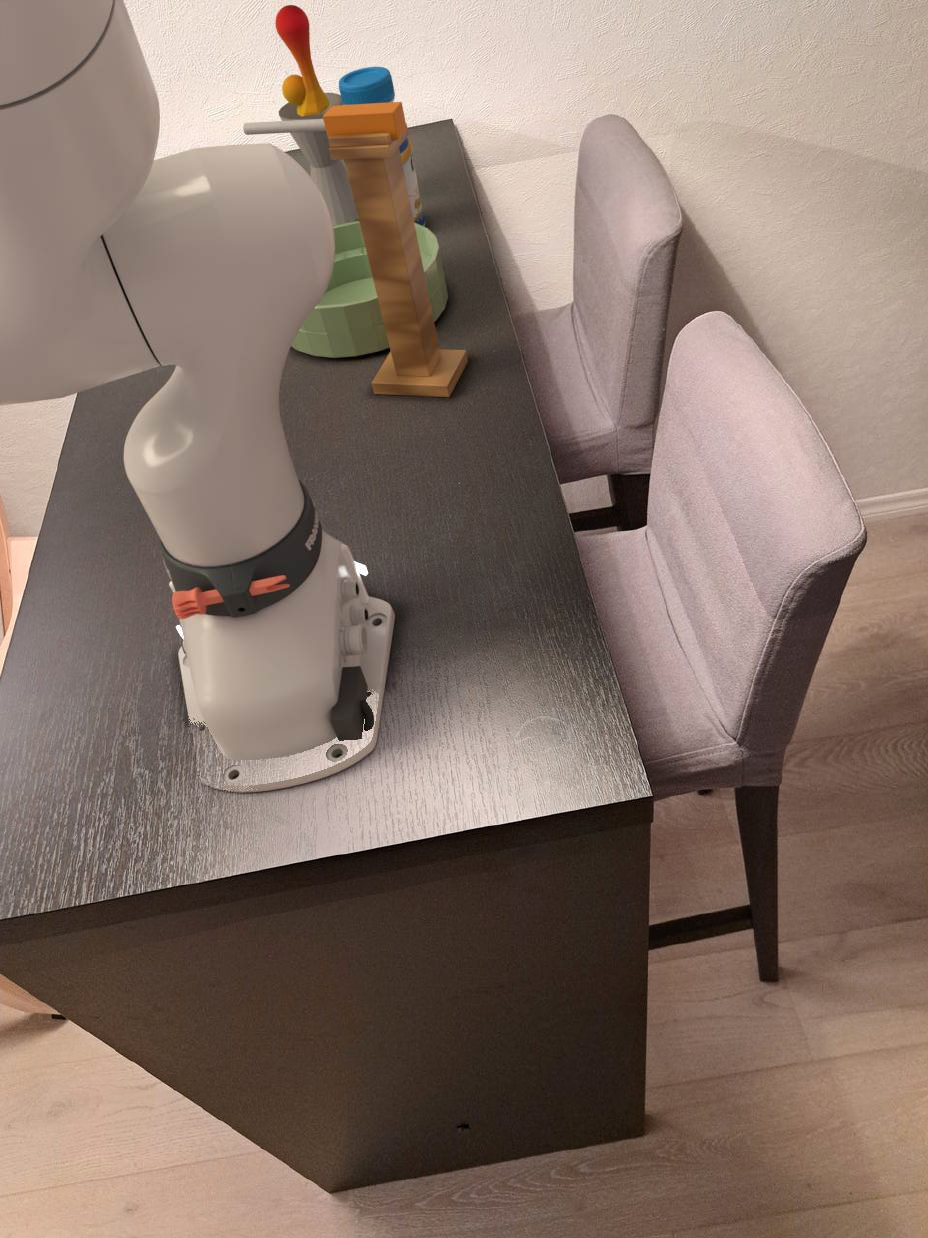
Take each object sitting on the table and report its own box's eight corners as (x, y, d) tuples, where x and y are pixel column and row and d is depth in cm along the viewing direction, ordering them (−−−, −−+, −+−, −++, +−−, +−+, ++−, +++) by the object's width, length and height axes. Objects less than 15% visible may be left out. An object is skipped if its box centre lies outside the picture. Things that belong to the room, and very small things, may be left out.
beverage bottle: (356, 234, 133) (318, 81, 119) (405, 211, 136) (373, 58, 121) (389, 251, 128) (353, 93, 114) (438, 227, 131) (410, 69, 116)
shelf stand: (468, 361, 107) (423, 109, 87) (449, 397, 102) (398, 141, 83) (395, 358, 109) (336, 114, 90) (373, 394, 105) (307, 145, 86)
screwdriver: (407, 128, 87) (402, 101, 85) (398, 139, 85) (392, 111, 83) (255, 136, 92) (247, 110, 90) (244, 147, 90) (236, 120, 88)
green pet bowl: (458, 338, 110) (448, 283, 105) (281, 377, 111) (263, 323, 106) (438, 257, 125) (428, 205, 120) (281, 291, 125) (265, 240, 120)
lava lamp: (369, 195, 142) (304, -88, 116) (367, 221, 136) (298, -71, 110) (311, 205, 143) (233, -73, 117) (306, 232, 136) (223, -56, 111)
